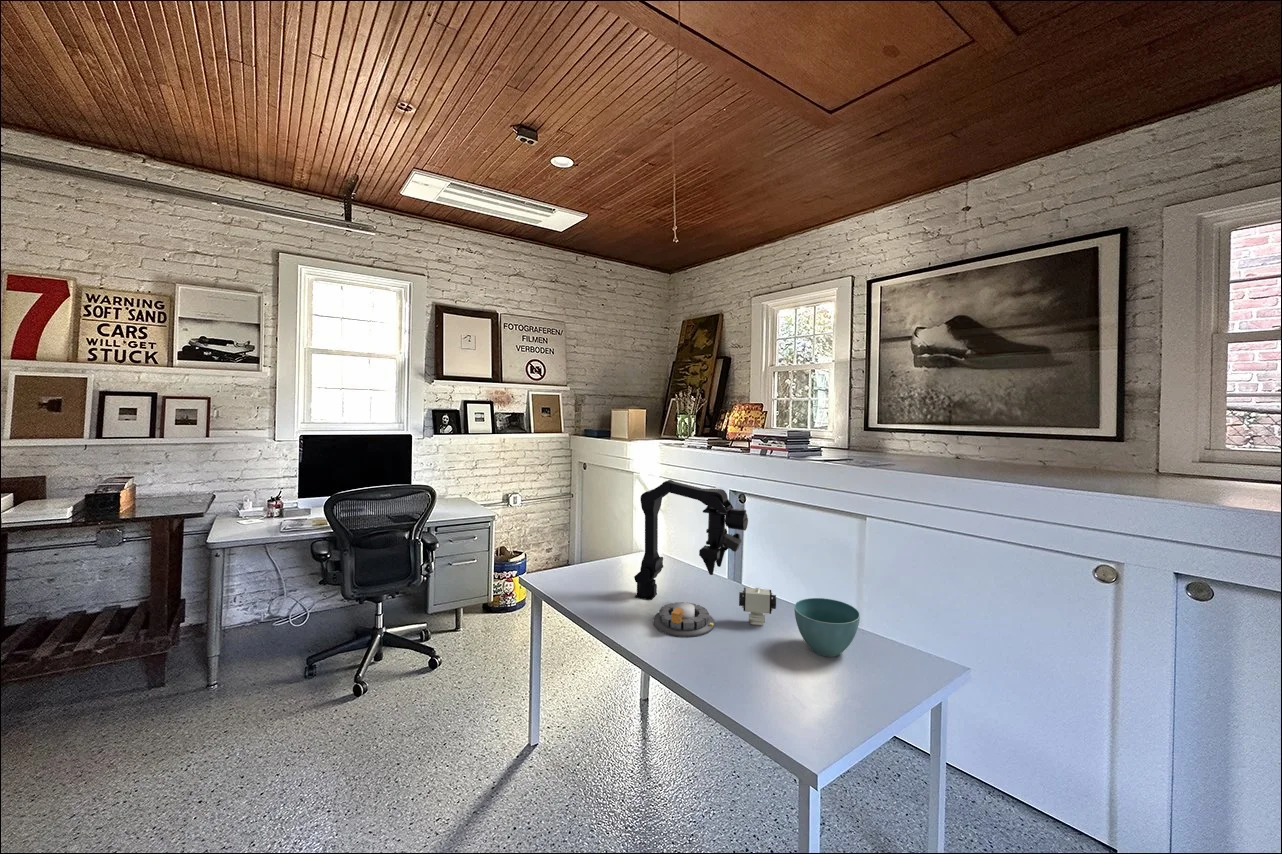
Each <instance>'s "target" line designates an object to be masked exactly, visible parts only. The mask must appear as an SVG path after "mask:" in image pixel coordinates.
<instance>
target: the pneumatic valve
mask: <svg viewBox="0 0 1282 854" xmlns="http://www.w3.org/2000/svg"><path fill="white" fill-rule="evenodd" d="M738 602H739V603H738V606H740V607H741V608H742V609H743V612H747V613H748V612H749V614H748V622H750V623H749V624H750V625H752V626H758V627H759V626H760V627H761V626H764V624H765V623H766V615H765V614H769V615H770V614H772V611H773V610H777V595H776V594H773V592H772V589H765V588H760V587H754V588H752V587H743V590H742V591H741V592H740V591H739V596H738Z"/></svg>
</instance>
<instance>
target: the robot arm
mask: <svg viewBox="0 0 1282 854" xmlns="http://www.w3.org/2000/svg"><path fill="white" fill-rule="evenodd" d="M669 493H670V494H673V495H677V496H681V497H685V498H689V499H693V500H695V501H696V500H697V501H699V502H701V503H702V504H703V505H704V506H706V508H704V509H703V510H702V513H703V514H704V513H705V514H708V522H707V528H706V534H707V540H706V541H705V545H703V546H702V547H701V548H700V549H698V551H699V552H698V553H699V554H698V555H699V557H700V558H701V559H702V560H703V563H704V565H705V567H706V569H707V572H708V574H709V575H711V576H713V575H714V571H715V566H717V567H718V568H721V566H722V563H723V559H724V556H725V553H726V551H727V550H731V551H732V552H734V553H735V552H737V551H738V550H739V549H740V546H741V544H742V539H741V534H740V533H738V532H735V533H734V534H729V533H728V529H731V530H739V531H747V528H748V524H749V518H748V514H747V510H746V509H738V508H737V509H735V508H734V506H733V504H732V503H731V502H730V500H729V498H728V493H727V492H726V490H724V489H721V488H702V487H697V486H694V485H690V484H685V483H682V482H679V481H674V480H672V479H669V480H666V481H663V482H662V483H661V484H660V485H658V486H657V487H654V488H653V489H650V490H648V491H645V492H643V493H642V494H641V495H640V507H641V510H642V511H643V515H644V555H643V558H642V560H641V562H640V563H641V564H640V570H639V572H638V573H637V574H635V576H633V578H634V581H635V583H636V594H635V596H634V598H635V599H636V598H637V599H642V600H647V601H651V600H653V599H654V598H655V597H656V596H657V595H658V593H657V591H658V590H657V589H658V586H657V583H656V578H658V575H659V574H661V572H662V570H663V568H664V564H663V561H664V557H663V556H660V555H659V551H658V544H659V543H658V537H659V536H658V535H659V533H658V530H659V529H658V525H659V523H658V521H659V519H658V517H659V512H660V510H661V506H662V501H663V498H664V497H665V496H667V495H668V494H669ZM726 527H727V528H728V529H727V528H726Z"/></svg>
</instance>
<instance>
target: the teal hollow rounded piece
mask: <svg viewBox="0 0 1282 854" xmlns="http://www.w3.org/2000/svg"><path fill="white" fill-rule="evenodd" d="M793 607H794V608H793V609H794V616H795V617H794V618H795V621H796V625H797V628H798V631H799V633H800V635H801V638H802V639H803V641H804V642H805V643H806V645H807V646H808V647H809V649H810V650H811V651H812V652H813V653H814V654H816V655H818V656H823V657H828V658H830V657H831V658H832V657H837V656H839V655H841V654H842V653H844V651H845V650H847V648H848V647H850V645H851V643H853V640H854V639H855V637H856V635H857V632H858V629H859V625H860V619H861V618H860V617H861V614H860V611H859V610H858V609H857V608H855V607H854V606H852V604H849V603H846V602H844V601H841V600H836V599H831V598H825V597H809V598H804V599H801V600H797V601H796V603H794V606H793Z"/></svg>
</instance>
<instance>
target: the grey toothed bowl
mask: <svg viewBox="0 0 1282 854" xmlns="http://www.w3.org/2000/svg"><path fill="white" fill-rule="evenodd" d="M676 603H688V602H684V601H683V602H674V603H672V602H671V603H668V604H665V605H662V606H661V607H660V608H659V610H658V613H659V620H660V623H662V624H663V625H665V626H666V627H668V628H669V627H671V629H677V630H682V628H683V631H684V630H694V628H695V629H696V630H697V629H700V628H702V627H705V626H706V625H707V623H708V622H709V615H710V613H709V611H708V609H707V608H705V607H704V606H702V605H700V604H697V603H692V602H689V603H690V604H692V605H694V607H695V616H697V617H694V618H691V619H683V609H681V608H675V609H674V610H673V606H674V604H676Z"/></svg>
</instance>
